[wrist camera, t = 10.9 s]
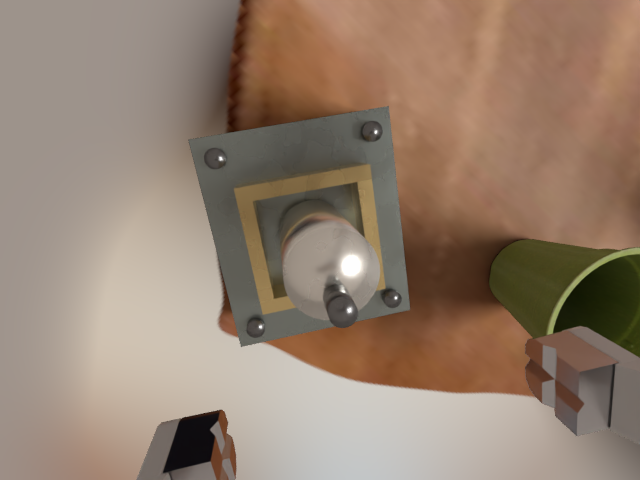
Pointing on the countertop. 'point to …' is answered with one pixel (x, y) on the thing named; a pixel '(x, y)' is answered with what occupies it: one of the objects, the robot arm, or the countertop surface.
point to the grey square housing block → (285, 192)
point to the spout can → (326, 263)
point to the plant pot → (570, 289)
